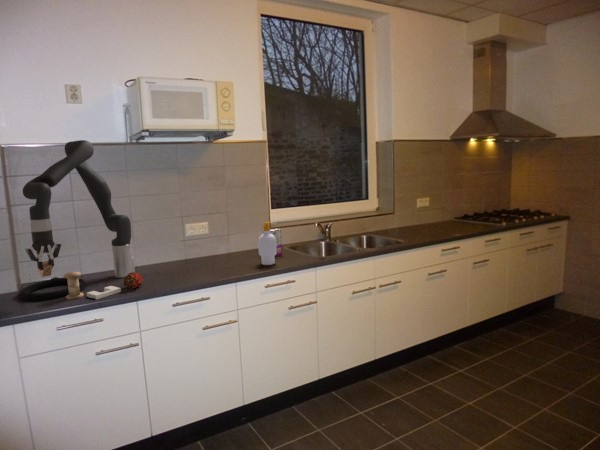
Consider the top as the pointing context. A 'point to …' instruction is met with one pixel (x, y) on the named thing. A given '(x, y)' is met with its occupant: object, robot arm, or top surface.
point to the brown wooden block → (46, 269)
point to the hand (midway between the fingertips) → (46, 268)
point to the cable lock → (55, 281)
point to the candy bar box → (277, 240)
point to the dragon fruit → (133, 280)
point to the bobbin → (73, 285)
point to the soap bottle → (267, 246)
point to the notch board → (108, 291)
